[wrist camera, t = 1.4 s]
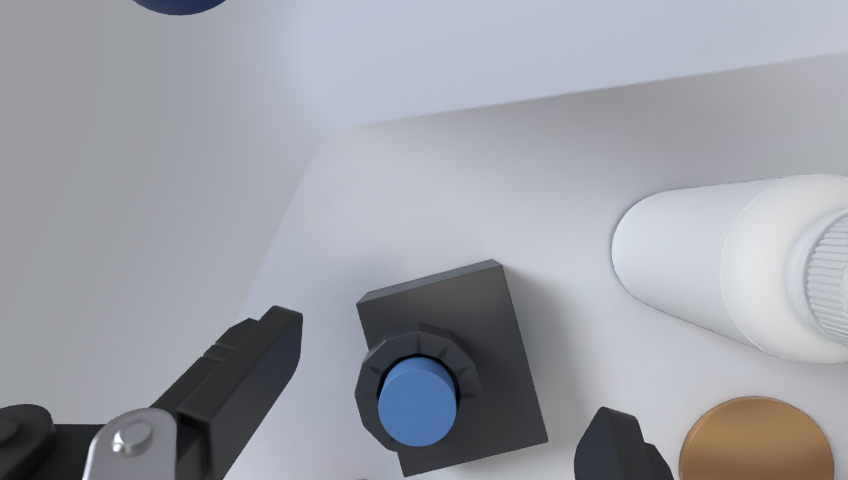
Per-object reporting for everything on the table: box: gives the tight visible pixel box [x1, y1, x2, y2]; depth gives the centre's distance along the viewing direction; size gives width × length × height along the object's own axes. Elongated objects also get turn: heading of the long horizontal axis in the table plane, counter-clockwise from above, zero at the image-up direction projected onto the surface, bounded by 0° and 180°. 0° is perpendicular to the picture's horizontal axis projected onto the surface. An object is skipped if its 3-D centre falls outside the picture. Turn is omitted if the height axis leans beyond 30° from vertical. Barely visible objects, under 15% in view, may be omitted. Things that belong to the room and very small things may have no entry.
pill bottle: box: [612, 174, 848, 364], centre depth 20 cm, size 8×8×15 cm
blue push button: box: [378, 357, 457, 447], centre depth 22 cm, size 4×4×2 cm
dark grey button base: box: [355, 259, 548, 477], centre depth 26 cm, size 11×10×6 cm
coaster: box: [679, 397, 834, 480], centre depth 28 cm, size 10×10×1 cm
